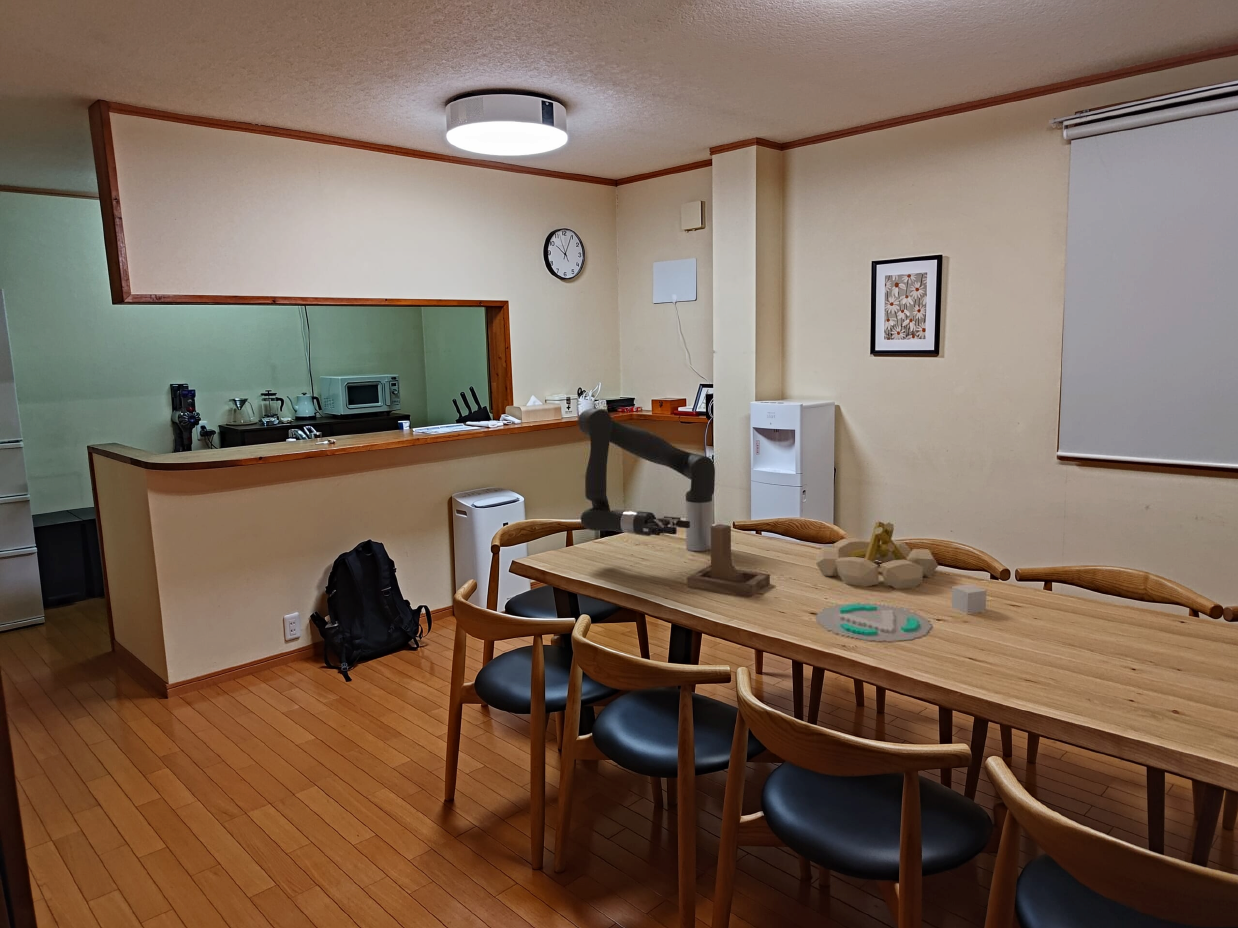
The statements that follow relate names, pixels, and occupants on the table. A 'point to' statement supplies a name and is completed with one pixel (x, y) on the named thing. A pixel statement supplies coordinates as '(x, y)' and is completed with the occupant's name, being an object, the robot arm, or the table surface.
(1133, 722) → the table surface
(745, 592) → the brown rectangular tray
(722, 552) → the wooden block
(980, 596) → the gray cube
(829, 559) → the campfire
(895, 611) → the grey flat disc
